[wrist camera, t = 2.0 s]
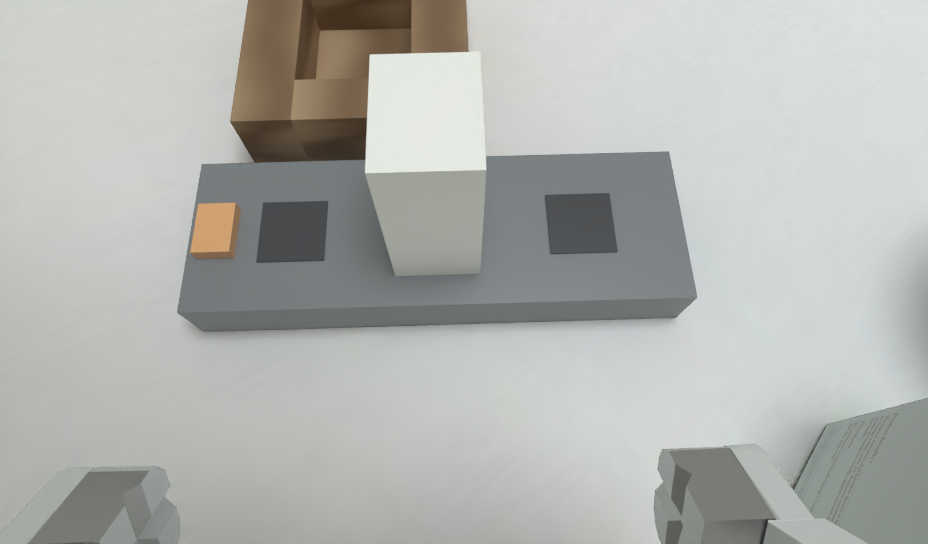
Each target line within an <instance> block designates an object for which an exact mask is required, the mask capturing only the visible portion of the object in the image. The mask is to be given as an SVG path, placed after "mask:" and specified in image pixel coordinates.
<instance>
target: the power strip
mask: <svg viewBox="0 0 928 544" xmlns="http://www.w3.org/2000/svg"><path fill="white" fill-rule="evenodd" d="M696 298H697V294H696V288H695V283H694V278H693V273H692V268H691V263H690V258H689V252H688V247H687V242H686V237H685V232H684V227H683V222H682V216H681V211H680V206H679V201H678V196H677V191H676V186H675V180H674V175H673V170H672V165H671V160H670V155H669V152H634V153H597V154H560V155H524V156H487V157H486V186H485V203H484V219H483V236H482V253H481V269H480V274H453V275H419V276H395V273H394V270H393V267H392V263H391V260H390V256H389V253H388V250H387V246H386V243H385V239H384V236H383V233H382V229H381V226H380V223H379V219H378V216H377V212H376V209H375V206H374V202H373V199H372V196H371V192H370V189H369V185H368V182H367V179H366V175H365V160H340V161H303V162H266V163H230V164H202V166H201V172H200V178H199V184H198V190H197V196H196V202H195V208H194V214H193V220H192V226H191V232H190V238H189V245H188V251H187V257H186V263H185V269H184V275H183V281H182V287H181V293H180V299H179V305H178V311H177V313H178V314H180V315H181V316H183V317H184V318H185V319H187V320H188V321H190V322H191V323H193V324H194V325H196V326H197V327H198V328H200V329H201V330H203V331H204V332H206V331H240V330H273V329H307V328H340V327H374V326H408V325H441V324H475V323H508V322H542V321H576V320H609V319H643V318H676V317H677V316H678V315H679V314H680V313H681V312H682V311H683V310H684V309H685V308H686V307H688V306H689V305H690V304H691V303H692V302H693V301H694V300H695V299H696Z"/></svg>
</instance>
